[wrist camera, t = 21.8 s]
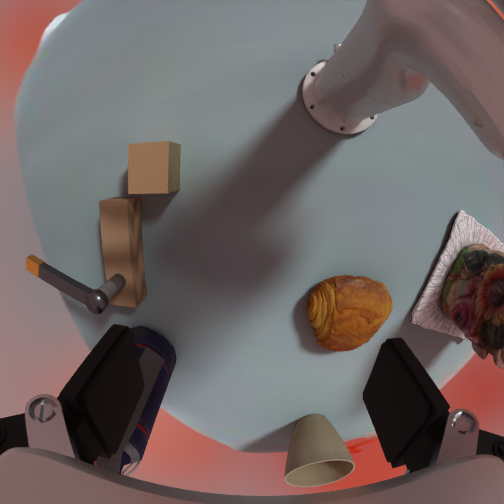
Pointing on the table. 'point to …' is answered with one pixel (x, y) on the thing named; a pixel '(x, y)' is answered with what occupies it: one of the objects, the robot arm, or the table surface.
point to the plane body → (122, 251)
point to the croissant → (347, 311)
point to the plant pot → (316, 454)
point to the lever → (68, 285)
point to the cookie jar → (467, 290)
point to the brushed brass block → (154, 167)
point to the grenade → (144, 398)
